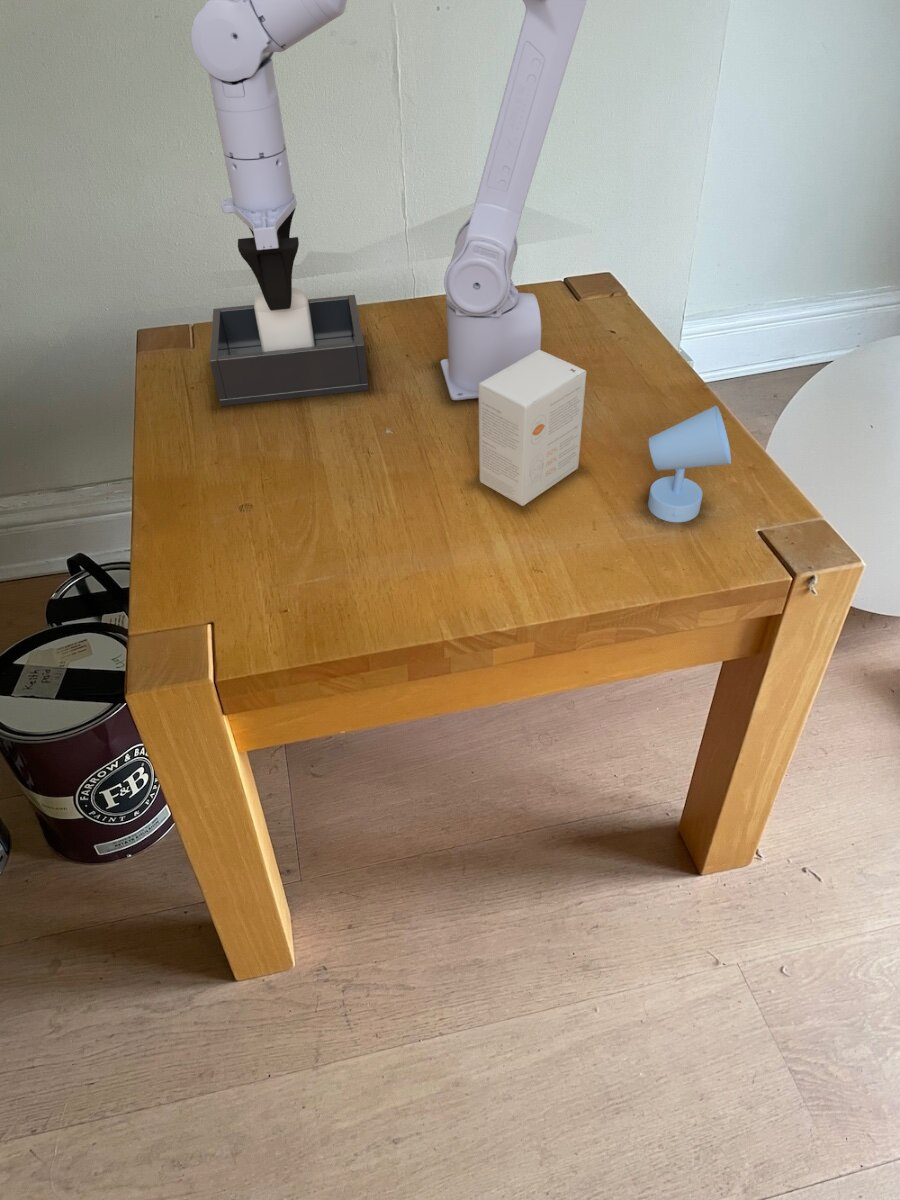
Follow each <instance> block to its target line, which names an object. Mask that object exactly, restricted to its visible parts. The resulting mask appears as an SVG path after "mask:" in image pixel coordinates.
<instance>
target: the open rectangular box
mask: <svg viewBox="0 0 900 1200" xmlns="http://www.w3.org/2000/svg"><path fill="white" fill-rule="evenodd" d="M308 303H309V309H310V316H311V323H312V329H313V336H314V343H315V346H313V347H304V348H294V349H284V350H275V351H265V352H262V347H261V342H260V337H259V331H258V326H257V321H256V315H255V309H254V304H249V305H248V304H247V305H236V306H229V307H228V306H227V307H221V308H220V307H218V308H213V309H212V321H211V334H210V336H211V337H210V348H209V349H210V350H209V351H210V352H209V364H210V368H211V373H212V377H213V381H214V385H215V390H216V394H217V398H218V401H219V406H220V407H228V406H235V405H246V404H254V403H264V402H265V403H266V402H271V401H282V400H293V399H301V398H310V397H318V396H329V395H336V394H337V395H339V394H346V393H354V392H364V391H369V390H370V387H369V385H370V384H369V377H368V367H367V357H366V347H365V341H364V336H363V330H362V325H361V320H360V319H361V318H360V315H359V314H360V313H359V309H358V303H357V299H356V295H355V294H348V295H340V296H339V295H337V296H328V297H318V298H308Z"/></svg>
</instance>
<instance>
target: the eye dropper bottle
mask: <svg viewBox="0 0 900 1200" xmlns="http://www.w3.org/2000/svg"><path fill="white" fill-rule="evenodd" d="M308 299H309V298H308V296H307V294H306V292H304V291H303V290H302V289H299V288H295V287H292V300H291V308H290V309H282V310H272V311H271V310H270V309H269V307H268V305H267V303H266V301H265V298H264V296H263V293H262V292H260V293H258V294H256V296H255V297H254V300H253V305H254V309H255V315H256V321H257V326H258V331H259V337H260V342H261V347H262V352H265V351H275V350H284V349H294V348H304V347H313V346H315V343H314V336H313V329H312V323H311V316H310V309H309V303H308Z"/></svg>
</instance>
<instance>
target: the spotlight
mask: <svg viewBox="0 0 900 1200" xmlns="http://www.w3.org/2000/svg"><path fill="white" fill-rule="evenodd" d="M726 429H727V428H726V426H725V421H724V418H723V416H722V413H721V411H720V409H719V407H718V405H714V406H712V407H709V408H708V409H706V410H703V411H702V412H699V413H697V414H695V415H694V416H692V417H689V418H687V419H685V420H683V421H680V422H679V423H676V424H675V425H673V426H671V427H669V428H667V429H664V430H662V431H660V432H658V433H656V434H654V435H652V436H650V437H649V438H648V447H649V448H648V449H649V453H650V458H651V461H652V464H653V466H654V468H655V469H656V471H657V472H661V471H671V470H675V473H674V475H672V476H664V477H660V478H658V479H656V480H655V481H653V483H652V484H651V486H650V489H649V494H648V495H649V496H648V501H647V507H648V509H649V511H650V513H651V514H652V515H653V516H654V517H656V518H658V519H660V520H663V521H666V522H670V523H686V522H689V521H691V520H693V519H695V518H697V516H698V515H699V513H700V510H701V505H702V500H703V489H702V488H701V487H700V485H698V483H696V482H695V481H693V480H691V479H689V478H687V477H685V472H686V469H692V468H705V467H715V466H726V465H731V464H732V454H731V448H730V442H729V439H728V434H727V430H726Z"/></svg>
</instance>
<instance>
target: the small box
mask: <svg viewBox="0 0 900 1200" xmlns="http://www.w3.org/2000/svg"><path fill="white" fill-rule="evenodd" d="M586 381H587V370H585V369H583V368H581V367H579V366H577V365H575V364H573V363H571V362H568V361H566V360H564V359H561V358H559V357H558V356H555V355H553V354H550V353H548V352H547V351H544V350H537V351H535V352H533V353H532V354H530V355H528V356H526V357H525V358H523V359H521V360H519V361H518V362H516V363H514V364H512V365H511V366H509V367H507V368H505V369H503V370H502V371H500V372H498V373H497V374H495V375H493V376H491V377H489V378H488V379H486V380H484V381H482V382H480V383H479V386H478V389H479V398H478V453H479V454H478V455H479V456H478V461H479V465H478V466H479V482H480V483H481V484H482V485H485V486H486V487H488V488H490V489H492V490H493V491H494V492H495V491H496V492H497V493H499V494H500V495H502V496H504V497H506V498H507V499H509V500H511V501H512V502H514V503H516V504H517V505H519V506H521V507H524V506H525V505H527V504H528V503H530V502H531V501H533V500H534V499H536V498H537V497H538V496H540V495H541V494H543V493H544V492H546V491H547V490H549V489H550V488H552V487H553V486H554V485H556V484H557V483H559V482H560V481H562V480H563V479H565V478H566V477H568V476H569V475H571V473H574V472H575V471H576V470H578V469H579V465H580V464H579V461H580V451H581V440H582V429H583V418H584V404H585V395H586V393H585V392H586Z"/></svg>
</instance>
